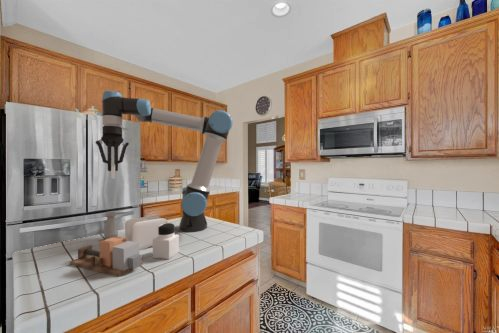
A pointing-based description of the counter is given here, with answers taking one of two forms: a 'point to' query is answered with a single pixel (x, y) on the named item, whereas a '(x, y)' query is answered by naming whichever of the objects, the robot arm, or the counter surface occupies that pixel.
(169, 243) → the medicine bottle
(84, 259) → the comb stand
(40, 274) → the counter surface
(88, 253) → the dark grey rod
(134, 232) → the cable organizer
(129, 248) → the block
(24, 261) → the counter surface
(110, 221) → the salt shaker
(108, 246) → the sleeve
